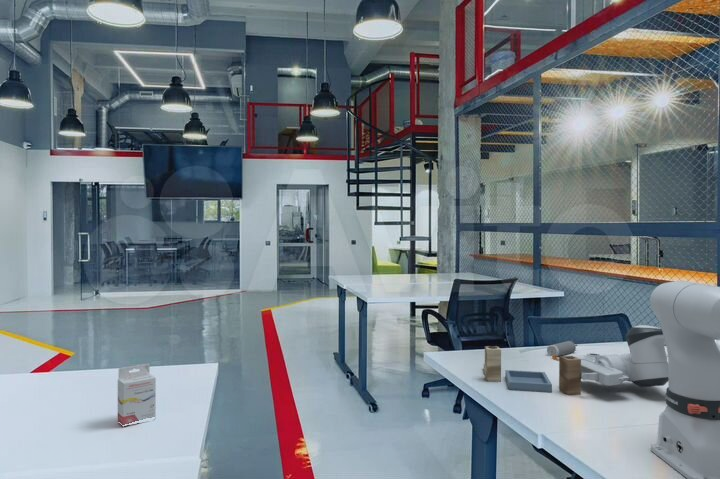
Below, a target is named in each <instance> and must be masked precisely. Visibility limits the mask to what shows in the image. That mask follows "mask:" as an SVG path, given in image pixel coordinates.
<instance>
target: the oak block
mask: <svg viewBox="0 0 720 479" xmlns="http://www.w3.org/2000/svg"><path fill="white" fill-rule="evenodd" d="M484 364H485V374H484V379H485V380H486V382H487V383H488V382H489V383H494V382H495V383H498V382H499V383H500V382H502V349H501V348H500V347H499V346H497V345H495V346H494V345H487V346H484Z"/></svg>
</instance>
